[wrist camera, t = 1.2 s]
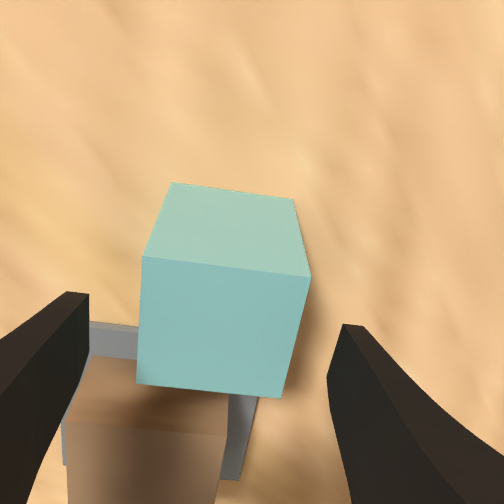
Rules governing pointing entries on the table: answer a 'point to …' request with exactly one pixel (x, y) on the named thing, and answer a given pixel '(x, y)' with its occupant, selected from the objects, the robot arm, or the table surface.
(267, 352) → the teal block
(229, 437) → the mat
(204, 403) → the walnut block
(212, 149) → the table surface
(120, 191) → the table surface
